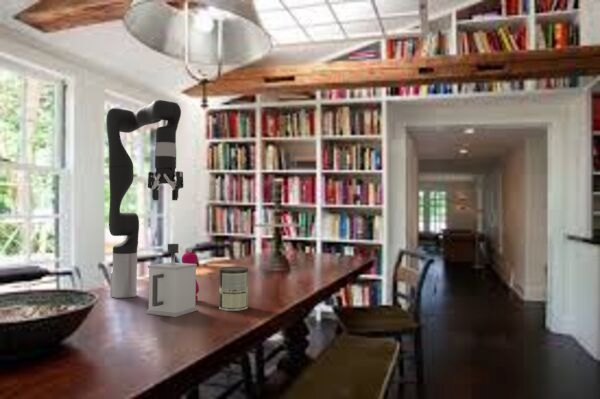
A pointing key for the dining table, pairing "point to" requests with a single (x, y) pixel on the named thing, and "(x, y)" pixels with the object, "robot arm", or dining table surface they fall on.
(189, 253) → the pepper mill
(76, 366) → the dining table surface
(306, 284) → the dining table surface
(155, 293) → the white cabinet
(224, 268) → the coffee can
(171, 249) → the grey thin rod
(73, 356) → the dining table surface
